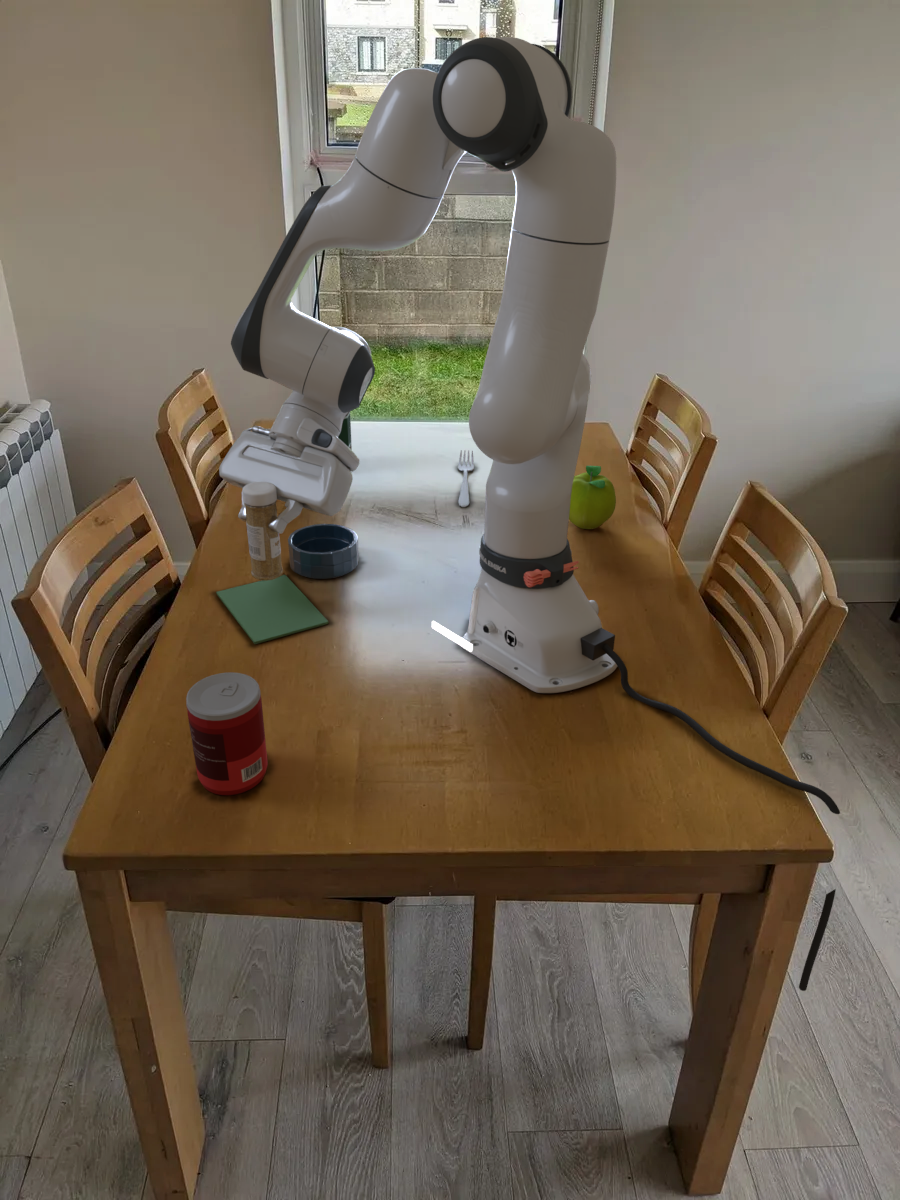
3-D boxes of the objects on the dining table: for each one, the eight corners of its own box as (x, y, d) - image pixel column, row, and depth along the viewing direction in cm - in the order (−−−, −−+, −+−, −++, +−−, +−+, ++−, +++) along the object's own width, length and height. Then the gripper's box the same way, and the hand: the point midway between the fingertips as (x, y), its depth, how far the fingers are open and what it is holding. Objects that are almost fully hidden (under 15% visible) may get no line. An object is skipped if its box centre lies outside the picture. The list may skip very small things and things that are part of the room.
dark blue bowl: (370, 570, 145) (369, 544, 143) (306, 586, 140) (304, 560, 138) (340, 543, 153) (339, 518, 151) (279, 557, 148) (277, 532, 146)
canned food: (272, 750, 106) (264, 671, 101) (263, 797, 100) (253, 715, 94) (205, 750, 106) (194, 671, 101) (191, 798, 99) (178, 715, 94)
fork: (454, 507, 166) (454, 498, 165) (458, 458, 187) (458, 449, 186) (472, 507, 166) (472, 498, 165) (474, 458, 187) (474, 450, 186)
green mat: (328, 623, 131) (328, 621, 131) (254, 644, 126) (254, 642, 126) (285, 576, 143) (285, 574, 142) (216, 594, 138) (216, 591, 137)
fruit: (611, 515, 164) (617, 462, 159) (614, 538, 156) (620, 483, 151) (559, 512, 165) (563, 460, 160) (559, 535, 157) (564, 480, 152)
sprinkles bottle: (288, 576, 131) (281, 489, 124) (258, 584, 129) (249, 496, 122) (275, 563, 134) (267, 477, 128) (245, 571, 132) (236, 484, 125)
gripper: (235, 412, 131) (192, 498, 129) (348, 442, 122) (303, 535, 120) (259, 433, 137) (218, 516, 135) (369, 464, 127) (327, 553, 125)
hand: (259, 525), depth 127 cm, fingers closed on sprinkles bottle, 4 cm apart
